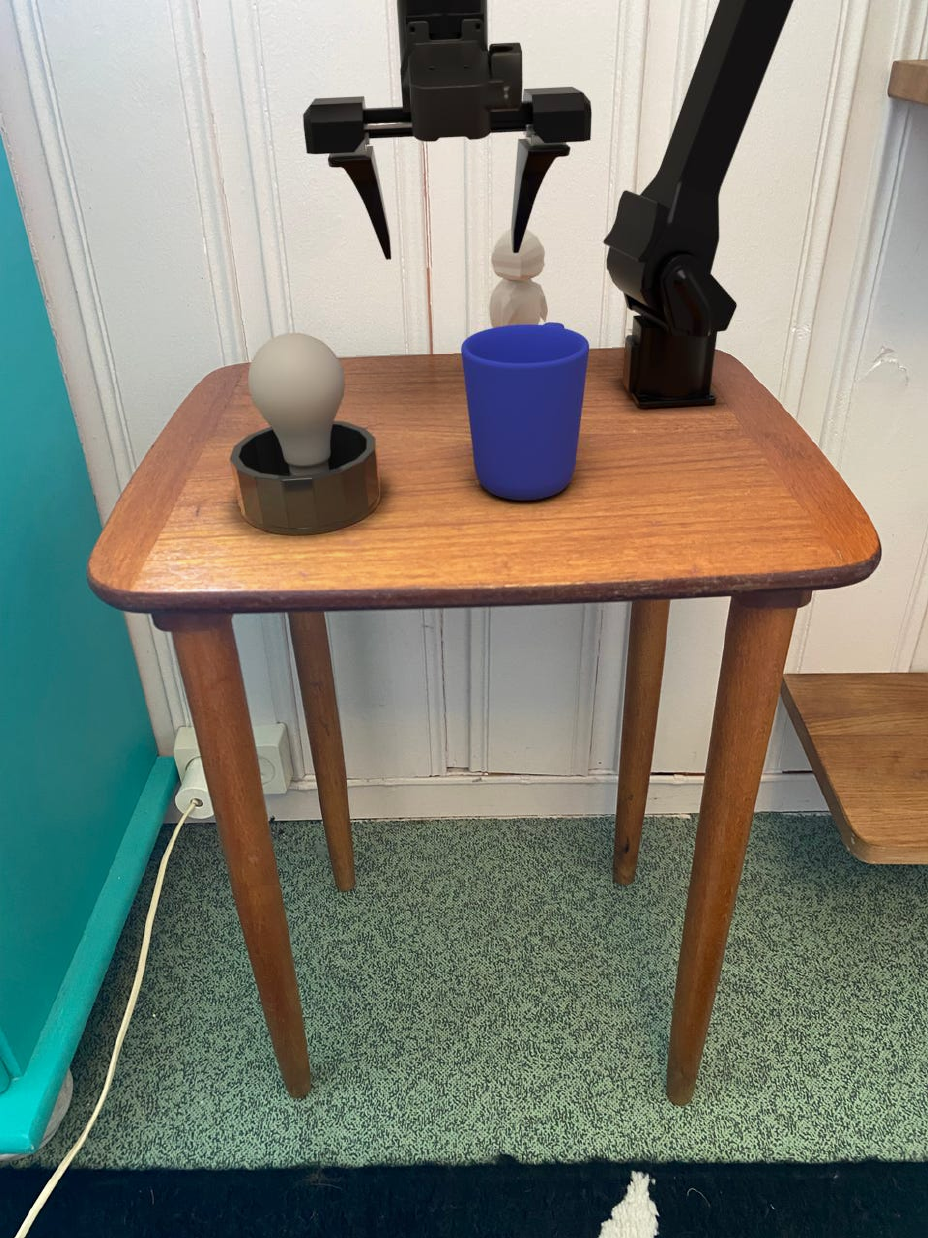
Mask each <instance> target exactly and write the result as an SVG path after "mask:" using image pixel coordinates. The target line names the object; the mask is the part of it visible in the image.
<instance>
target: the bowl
mask: <svg viewBox="0 0 928 1238" xmlns="http://www.w3.org/2000/svg"><path fill="white" fill-rule="evenodd" d="M330 451H331V454H330V457H329V459H328V466H329V470H328V471H324V472H320V473H315V474H311V475H296V476H291V473H290V470H289V464H288V463H287V462H286V461H285V459H284V456H283V451H282V447H281V445H280V442H279V439H278V437H277V436H276V434H275V432H274V430H273V429H272V427H271V426H270V425H269V426H267V427H265V428H263V429H260V430H258V431H256V432H252V433H250V434H248V435H246V436H245V437H244V438H243V439H241V440H240V441H238V443H236V444H235V445H234V446H233V448H232V450H231V453H230V456H229V463H230V467H231V468H230V469H231V473H232V478H233V483H234V488H235V493H236V498H237V503H238V506H239V508H240V512H241V515H242V517H243V518H244V520H245V521H246V522H247V523H248V524H250V525H251V526H253V527H255V528H257V529H259V530H262V531H264V532H267V533H273V534H279V535H285V536H286V535H289V536H290V535H291V536H307V535H315V534H321V533H322V534H323V533H328V532H332V531H337V530H339V529H343V528H345V527H346V528H347V527H348V526H351V525H353V524H355V523H358V522H360V521H361V520H364V519H365V518H366V517H368V516H369V515H371V513H372V512H373V511H375V510H376V509H377V507H378V505H379V504H380V501H381V480H380V470H379V468H380V467H379V459H378V449H377V440H376V437H375V436H374V435H373V434H372V433H371V432H370V431H369V430H368V429H367V428H365V427H362V426H359V425H357V424H354V423H351V422H348V421H342V420H341V421H340V420H334V421H333V425H332V429H331V436H330Z"/></svg>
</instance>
